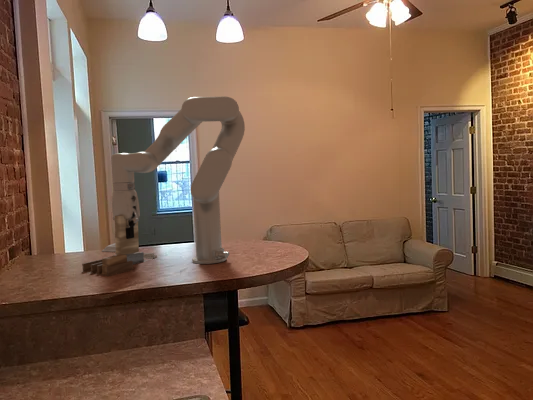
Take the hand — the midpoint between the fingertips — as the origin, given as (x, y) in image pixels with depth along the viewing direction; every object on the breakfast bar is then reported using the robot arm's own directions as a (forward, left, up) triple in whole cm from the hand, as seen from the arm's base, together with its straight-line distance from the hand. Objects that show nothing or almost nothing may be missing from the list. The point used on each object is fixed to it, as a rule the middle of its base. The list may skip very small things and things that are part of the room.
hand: (126, 237), depth 168 cm
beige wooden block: (0, 0, -6) cm, 6 cm away
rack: (-4, +12, -10) cm, 16 cm away
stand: (0, 0, -10) cm, 10 cm away
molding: (+20, -18, -11) cm, 29 cm away
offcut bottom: (-8, +12, -9) cm, 17 cm away
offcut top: (-8, +12, -7) cm, 16 cm away
